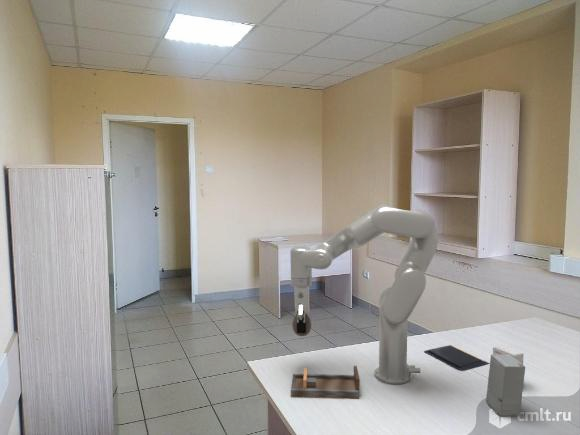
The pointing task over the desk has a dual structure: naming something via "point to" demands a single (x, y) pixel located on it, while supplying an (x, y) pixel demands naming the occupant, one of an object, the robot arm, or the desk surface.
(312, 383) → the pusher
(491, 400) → the skincare box
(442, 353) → the wallet
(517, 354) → the ink box
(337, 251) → the robot arm
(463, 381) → the desk surface
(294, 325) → the vase
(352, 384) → the tray
